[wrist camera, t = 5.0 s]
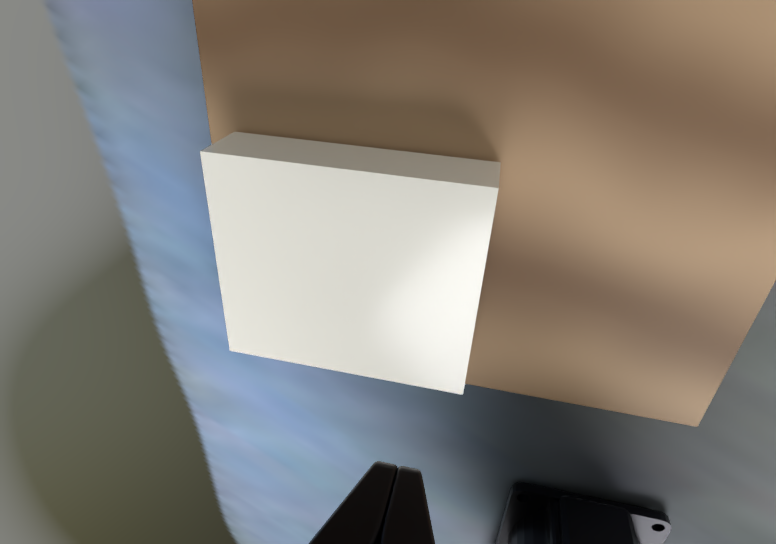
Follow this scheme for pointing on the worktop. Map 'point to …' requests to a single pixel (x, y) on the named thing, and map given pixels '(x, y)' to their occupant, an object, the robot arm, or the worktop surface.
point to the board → (552, 165)
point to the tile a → (351, 254)
